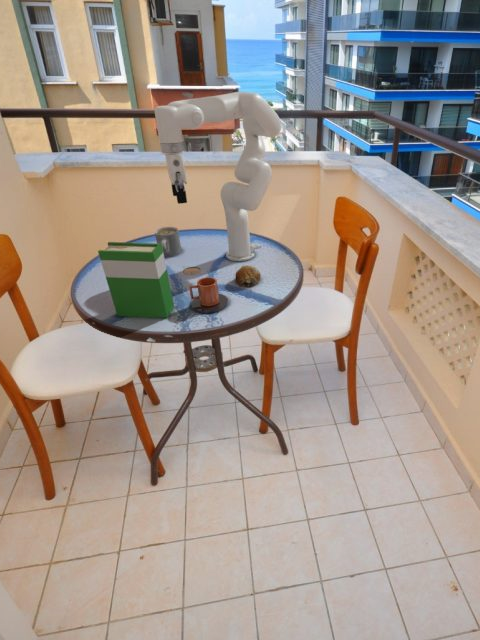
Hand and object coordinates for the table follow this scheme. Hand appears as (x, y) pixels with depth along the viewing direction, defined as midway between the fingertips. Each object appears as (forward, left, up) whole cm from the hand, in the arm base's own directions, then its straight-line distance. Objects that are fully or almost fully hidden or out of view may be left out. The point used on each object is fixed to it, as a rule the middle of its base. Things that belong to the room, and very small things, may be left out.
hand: (180, 199), depth 148 cm
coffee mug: (+2, -29, -32) cm, 43 cm away
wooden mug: (+2, +22, -31) cm, 38 cm away
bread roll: (-18, +13, -32) cm, 39 cm away
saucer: (+1, +22, -32) cm, 39 cm away
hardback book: (+22, +16, -32) cm, 42 cm away
